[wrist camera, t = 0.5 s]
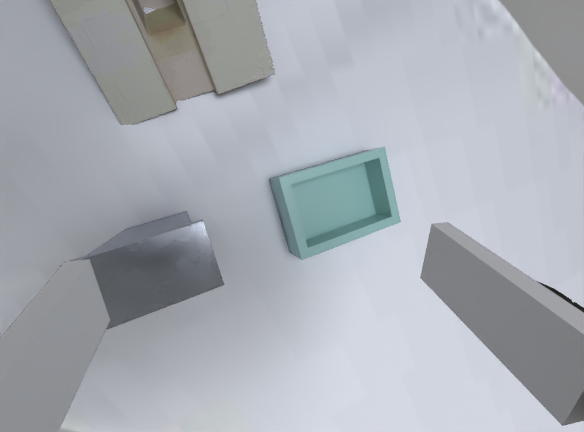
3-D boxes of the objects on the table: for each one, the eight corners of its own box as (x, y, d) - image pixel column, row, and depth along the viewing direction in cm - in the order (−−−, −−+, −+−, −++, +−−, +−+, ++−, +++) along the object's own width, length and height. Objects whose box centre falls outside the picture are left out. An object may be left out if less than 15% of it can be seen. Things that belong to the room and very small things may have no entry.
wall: (255, 43, 37) (213, -148, 25) (280, 75, 32) (241, -147, 20) (120, 86, 35) (5, -99, 23) (122, 128, 30) (-25, -83, 18)
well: (268, 178, 35) (279, 177, 31) (365, 150, 38) (384, 146, 35) (289, 252, 36) (301, 259, 32) (380, 218, 40) (400, 221, 36)
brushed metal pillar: (115, 232, 30) (60, 265, 17) (196, 207, 32) (203, 221, 19) (131, 273, 31) (90, 335, 18) (209, 246, 33) (224, 284, 20)
